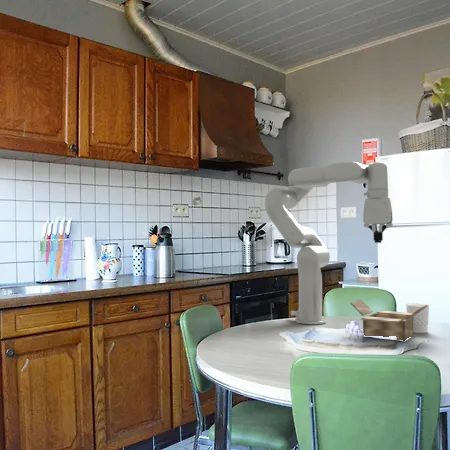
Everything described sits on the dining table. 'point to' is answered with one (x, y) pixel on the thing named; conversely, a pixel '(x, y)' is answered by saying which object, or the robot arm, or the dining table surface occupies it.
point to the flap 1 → (361, 307)
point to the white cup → (419, 317)
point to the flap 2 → (416, 312)
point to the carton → (388, 324)
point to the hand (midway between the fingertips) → (378, 242)
